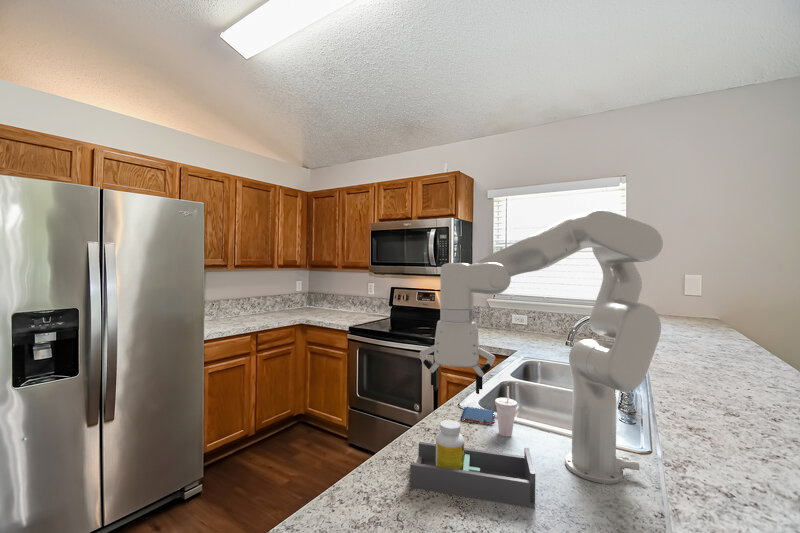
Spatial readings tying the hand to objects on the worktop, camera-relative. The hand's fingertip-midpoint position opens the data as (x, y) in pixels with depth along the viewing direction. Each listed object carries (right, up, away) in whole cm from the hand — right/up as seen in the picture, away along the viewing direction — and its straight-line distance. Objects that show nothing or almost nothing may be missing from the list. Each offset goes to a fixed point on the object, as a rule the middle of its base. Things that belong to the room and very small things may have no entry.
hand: (456, 390), depth 81 cm
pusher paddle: (+3, -19, -1) cm, 20 cm away
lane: (+3, -21, -1) cm, 21 cm away
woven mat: (+13, -22, +35) cm, 44 cm away
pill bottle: (-2, -20, 0) cm, 20 cm away
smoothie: (+18, -22, +24) cm, 37 cm away
